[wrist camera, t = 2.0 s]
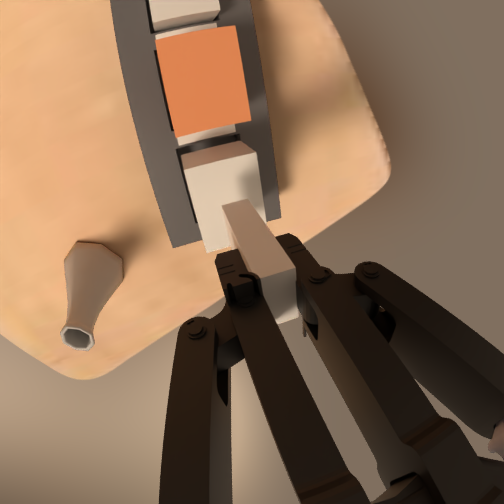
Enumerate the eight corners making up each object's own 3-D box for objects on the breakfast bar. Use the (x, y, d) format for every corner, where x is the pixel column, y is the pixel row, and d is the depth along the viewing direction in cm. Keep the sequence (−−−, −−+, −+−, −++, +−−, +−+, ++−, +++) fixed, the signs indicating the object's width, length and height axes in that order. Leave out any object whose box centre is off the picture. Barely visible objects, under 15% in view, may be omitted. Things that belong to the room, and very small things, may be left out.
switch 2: (157, 50, 14) (154, 40, 11) (222, 37, 14) (235, 25, 11) (174, 129, 17) (175, 138, 14) (235, 114, 18) (251, 120, 15)
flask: (60, 282, 26) (38, 350, 18) (71, 230, 24) (40, 296, 16) (115, 301, 30) (109, 371, 22) (133, 253, 27) (126, 324, 19)
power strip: (111, -61, 8) (105, -79, 5) (218, -80, 10) (227, -100, 6) (171, 227, 27) (173, 248, 24) (267, 200, 28) (281, 218, 25)
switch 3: (180, 155, 19) (183, 170, 15) (240, 140, 19) (256, 152, 16) (199, 226, 22) (206, 253, 19) (252, 211, 23) (268, 235, 19)
